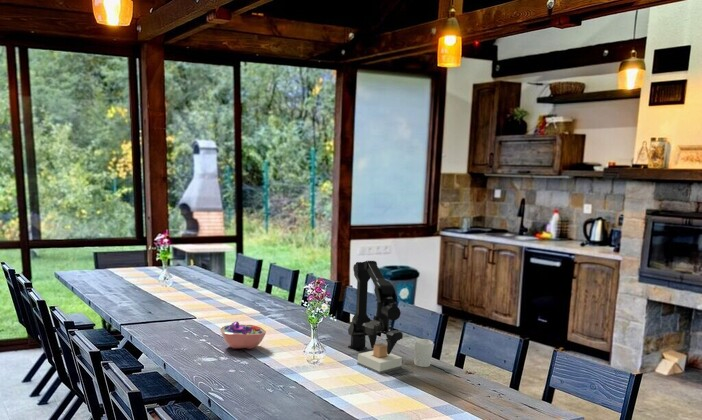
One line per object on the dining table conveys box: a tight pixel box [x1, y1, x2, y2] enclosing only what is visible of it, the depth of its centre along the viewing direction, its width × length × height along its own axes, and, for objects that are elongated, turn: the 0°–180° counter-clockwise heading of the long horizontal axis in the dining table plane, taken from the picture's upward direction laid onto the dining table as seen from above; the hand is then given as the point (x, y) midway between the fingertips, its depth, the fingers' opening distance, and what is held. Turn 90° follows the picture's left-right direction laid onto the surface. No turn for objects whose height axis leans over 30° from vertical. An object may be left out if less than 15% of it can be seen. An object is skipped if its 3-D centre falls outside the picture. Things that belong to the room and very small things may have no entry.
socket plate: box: [357, 349, 403, 375], centre depth 228 cm, size 13×13×5 cm
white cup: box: [413, 338, 434, 368], centre depth 234 cm, size 8×8×10 cm
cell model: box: [219, 321, 267, 350], centre depth 239 cm, size 17×20×11 cm
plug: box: [372, 343, 387, 359], centre depth 227 cm, size 4×4×8 cm
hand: (380, 351), depth 227 cm, fingers open, 9 cm apart
